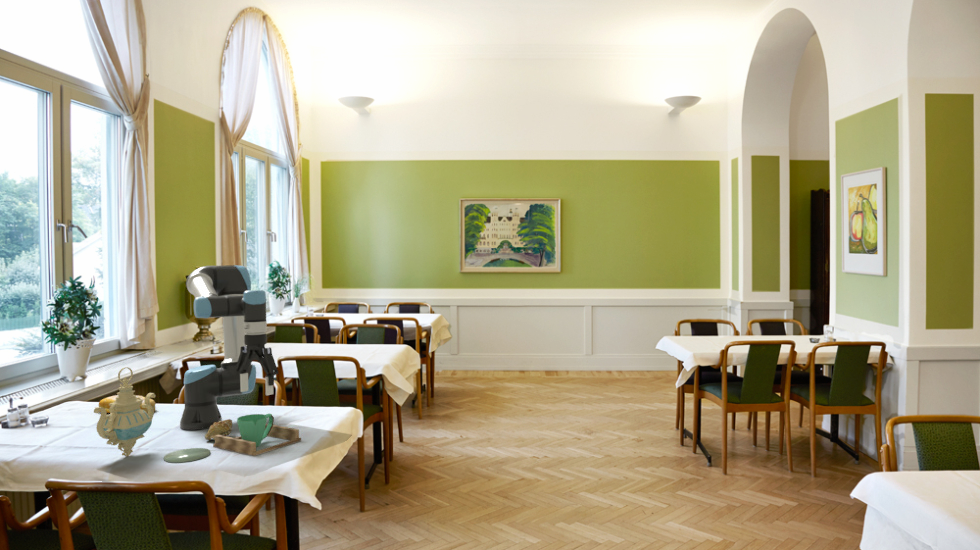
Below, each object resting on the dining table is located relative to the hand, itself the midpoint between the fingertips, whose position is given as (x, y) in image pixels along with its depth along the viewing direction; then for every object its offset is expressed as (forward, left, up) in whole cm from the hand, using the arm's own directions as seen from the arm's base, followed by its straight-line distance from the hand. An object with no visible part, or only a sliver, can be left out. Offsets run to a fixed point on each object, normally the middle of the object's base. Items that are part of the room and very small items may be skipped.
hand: (256, 393), depth 218 cm
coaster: (-9, -21, -18) cm, 29 cm away
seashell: (-18, -4, -20) cm, 27 cm away
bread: (-90, +3, -19) cm, 92 cm away
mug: (0, 0, -18) cm, 18 cm away
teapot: (-27, -31, -18) cm, 45 cm away
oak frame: (0, 0, -18) cm, 18 cm away
